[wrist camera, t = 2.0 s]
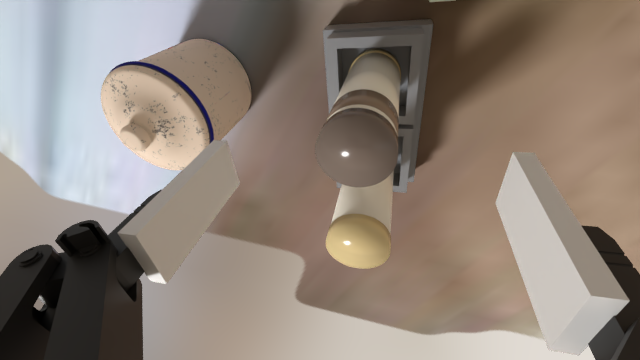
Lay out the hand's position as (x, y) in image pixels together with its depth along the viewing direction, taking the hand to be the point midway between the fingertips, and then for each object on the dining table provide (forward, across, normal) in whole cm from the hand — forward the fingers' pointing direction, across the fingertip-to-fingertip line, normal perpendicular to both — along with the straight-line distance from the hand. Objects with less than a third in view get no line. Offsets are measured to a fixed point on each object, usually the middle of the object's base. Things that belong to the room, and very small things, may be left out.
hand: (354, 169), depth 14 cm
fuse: (+13, 0, -6) cm, 14 cm away
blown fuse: (+13, 0, 0) cm, 13 cm away
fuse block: (+15, 0, -3) cm, 15 cm away
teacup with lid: (+15, -17, -2) cm, 23 cm away
